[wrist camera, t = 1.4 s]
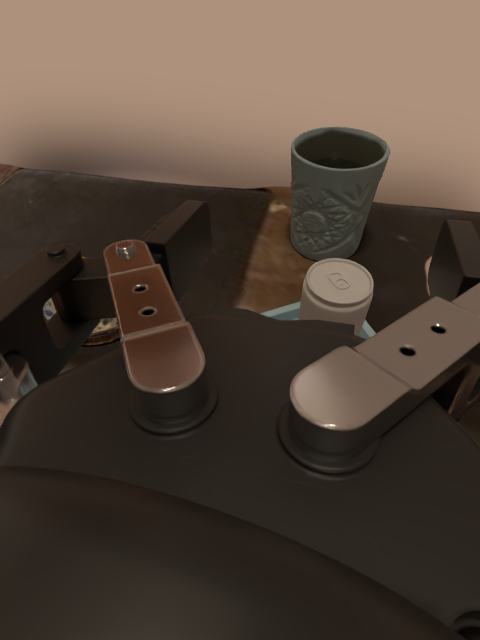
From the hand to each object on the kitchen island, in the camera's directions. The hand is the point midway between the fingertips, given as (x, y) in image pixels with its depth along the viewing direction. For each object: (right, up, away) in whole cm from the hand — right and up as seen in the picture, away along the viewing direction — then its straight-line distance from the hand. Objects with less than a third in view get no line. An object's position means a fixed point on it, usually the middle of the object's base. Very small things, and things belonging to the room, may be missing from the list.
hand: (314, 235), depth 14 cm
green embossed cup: (+8, +7, +36) cm, 37 cm away
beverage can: (+4, -8, +22) cm, 24 cm away
